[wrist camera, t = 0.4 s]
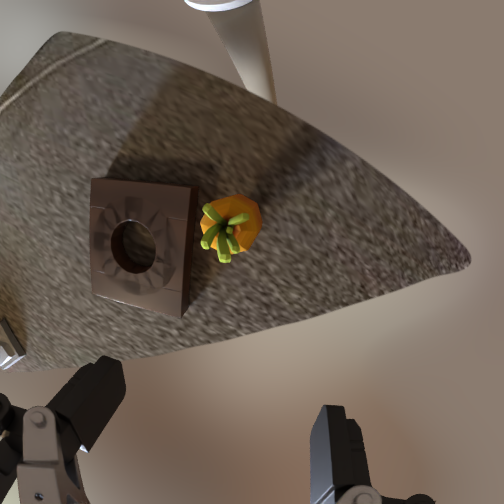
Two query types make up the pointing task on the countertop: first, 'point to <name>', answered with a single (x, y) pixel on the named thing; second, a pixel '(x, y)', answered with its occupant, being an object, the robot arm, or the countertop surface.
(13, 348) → the soap mold
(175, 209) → the socket board
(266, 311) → the countertop surface
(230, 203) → the carrot
